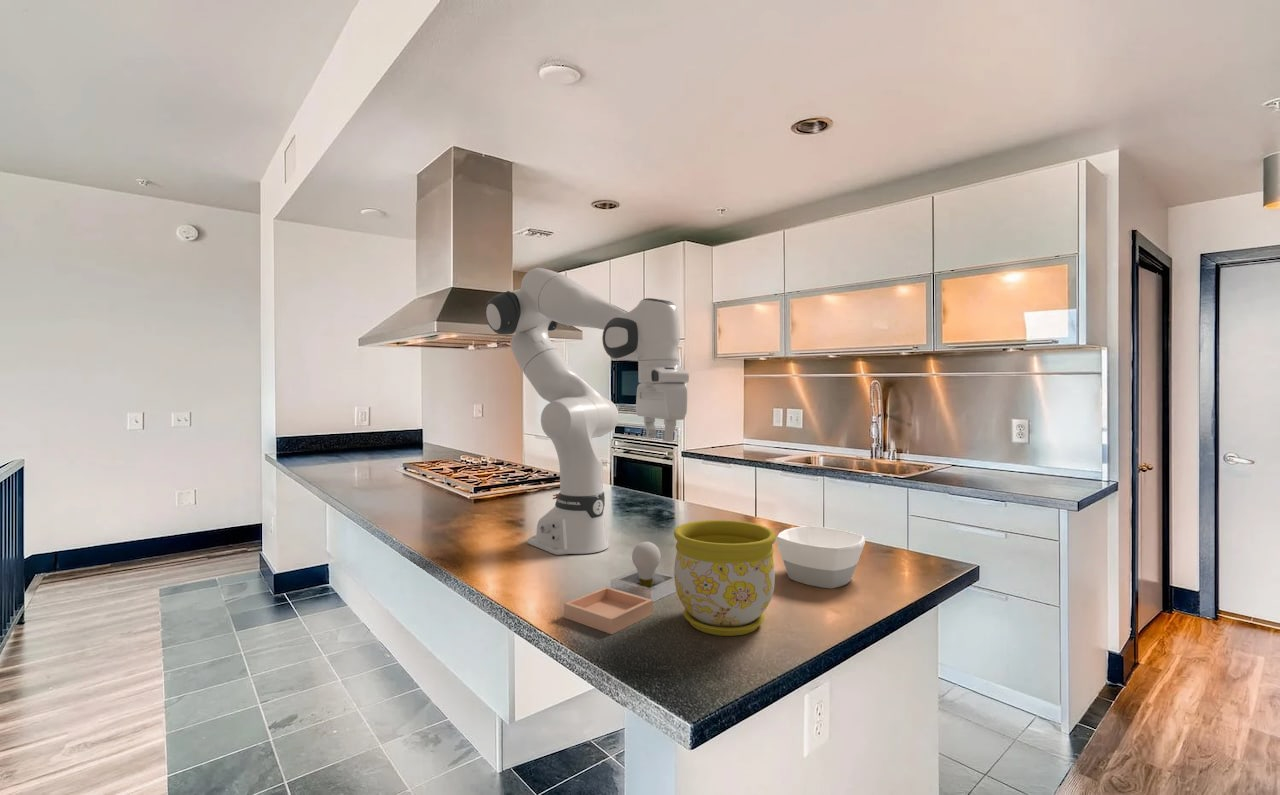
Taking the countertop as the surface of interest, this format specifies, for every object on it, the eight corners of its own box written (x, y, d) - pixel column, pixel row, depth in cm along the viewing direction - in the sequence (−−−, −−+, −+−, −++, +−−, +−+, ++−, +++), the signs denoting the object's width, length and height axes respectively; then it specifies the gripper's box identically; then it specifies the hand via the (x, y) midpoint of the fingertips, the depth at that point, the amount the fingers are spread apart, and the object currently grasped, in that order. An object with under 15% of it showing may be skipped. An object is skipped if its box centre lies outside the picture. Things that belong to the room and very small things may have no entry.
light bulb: (646, 583, 129) (646, 536, 128) (666, 590, 125) (666, 542, 124) (626, 590, 125) (626, 542, 124) (646, 597, 120) (646, 547, 120)
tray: (563, 617, 110) (563, 603, 110) (606, 599, 119) (606, 586, 119) (611, 634, 103) (611, 619, 103) (653, 614, 112) (653, 600, 112)
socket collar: (610, 591, 124) (610, 579, 124) (642, 578, 132) (642, 567, 132) (650, 603, 117) (650, 591, 117) (681, 588, 125) (681, 577, 125)
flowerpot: (704, 651, 97) (705, 549, 96) (657, 611, 113) (657, 524, 113) (796, 632, 104) (797, 538, 103) (738, 598, 120) (739, 516, 120)
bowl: (763, 579, 132) (763, 536, 132) (802, 561, 145) (803, 522, 145) (841, 599, 120) (841, 552, 120) (876, 578, 133) (877, 535, 133)
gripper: (629, 375, 137) (629, 436, 137) (663, 373, 118) (663, 444, 118) (654, 375, 139) (655, 435, 139) (692, 373, 120) (693, 443, 120)
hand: (659, 439), depth 129 cm, fingers open, 8 cm apart
